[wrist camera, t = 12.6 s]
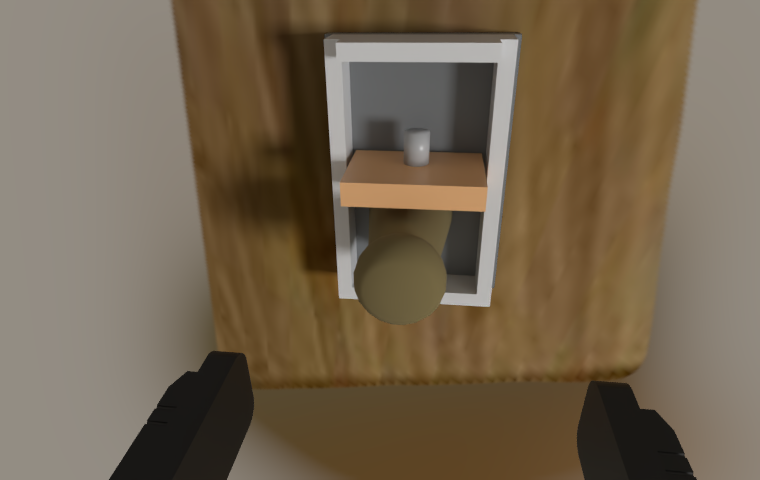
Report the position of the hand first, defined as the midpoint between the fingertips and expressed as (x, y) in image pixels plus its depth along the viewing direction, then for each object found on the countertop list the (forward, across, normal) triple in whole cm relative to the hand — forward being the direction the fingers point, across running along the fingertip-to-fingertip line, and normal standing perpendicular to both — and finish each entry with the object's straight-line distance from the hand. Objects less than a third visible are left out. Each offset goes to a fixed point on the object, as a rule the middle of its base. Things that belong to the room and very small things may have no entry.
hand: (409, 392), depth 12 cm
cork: (+24, +2, +7) cm, 25 cm away
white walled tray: (+25, +1, +4) cm, 26 cm away
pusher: (+24, +1, +3) cm, 24 cm away
